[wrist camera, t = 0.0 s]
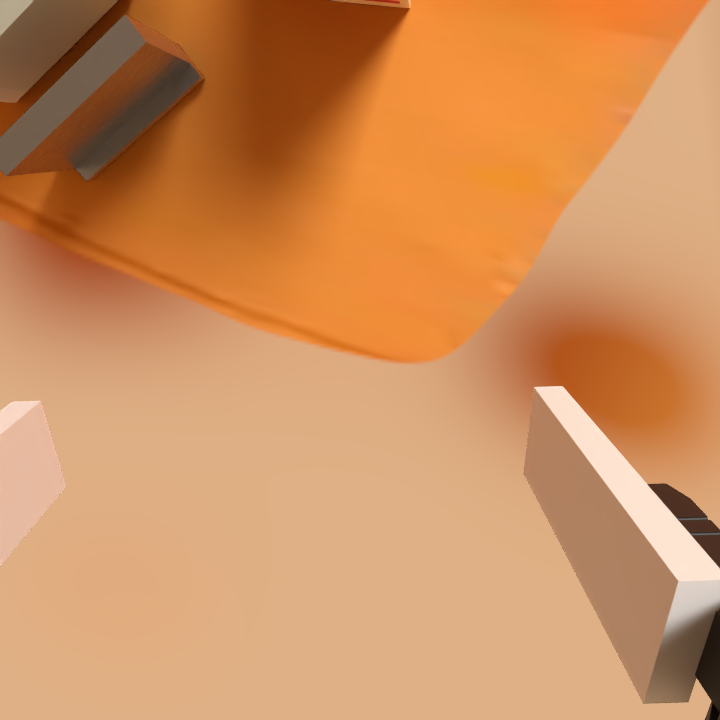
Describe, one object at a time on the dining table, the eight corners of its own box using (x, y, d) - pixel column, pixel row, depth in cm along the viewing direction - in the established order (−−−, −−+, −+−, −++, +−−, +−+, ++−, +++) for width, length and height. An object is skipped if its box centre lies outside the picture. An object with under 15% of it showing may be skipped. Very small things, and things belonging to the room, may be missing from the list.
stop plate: (66, 150, 37) (-16, 152, 29) (178, 44, 35) (124, 14, 26) (92, 180, 38) (20, 191, 29) (204, 78, 35) (160, 60, 27)
